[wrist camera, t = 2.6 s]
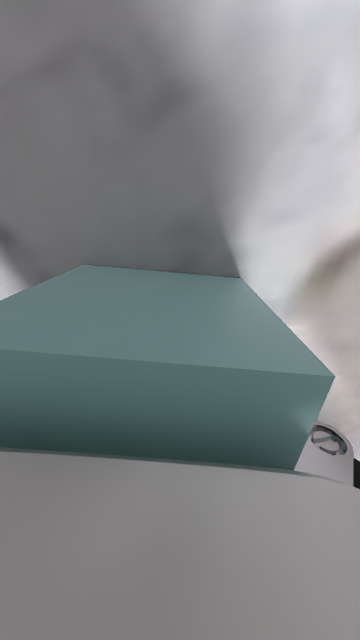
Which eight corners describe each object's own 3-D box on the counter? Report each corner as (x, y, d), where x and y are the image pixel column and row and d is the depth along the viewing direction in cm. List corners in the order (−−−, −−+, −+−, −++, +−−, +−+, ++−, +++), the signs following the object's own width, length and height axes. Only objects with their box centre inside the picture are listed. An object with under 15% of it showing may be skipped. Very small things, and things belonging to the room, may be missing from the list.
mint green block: (82, 264, 11) (-94, 342, 4) (241, 278, 11) (335, 376, 4) (93, 389, 14) (5, 555, 7) (217, 399, 14) (248, 572, 7)
